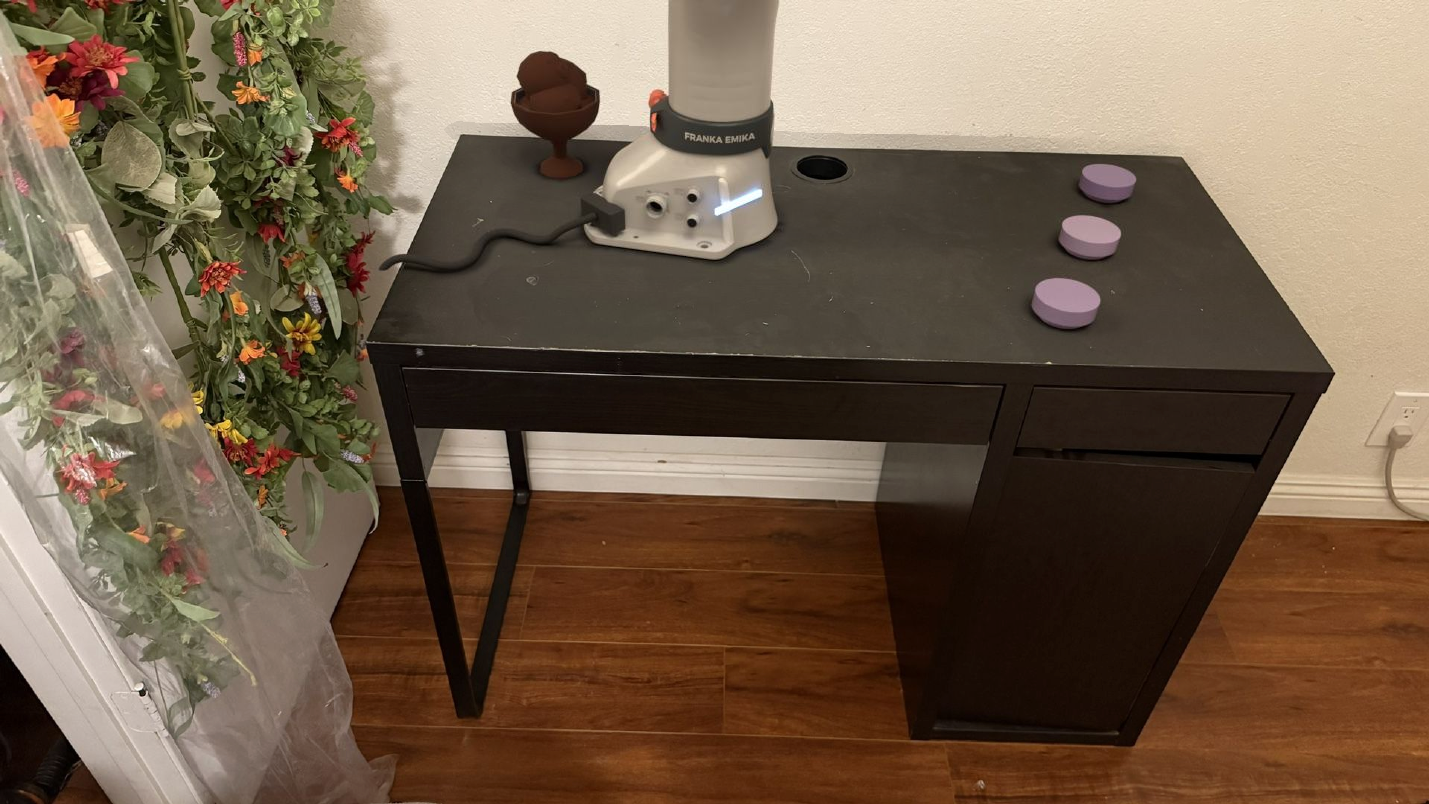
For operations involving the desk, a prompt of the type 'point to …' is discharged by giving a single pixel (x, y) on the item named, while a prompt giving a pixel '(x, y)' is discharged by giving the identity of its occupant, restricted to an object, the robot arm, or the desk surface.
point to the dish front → (1065, 303)
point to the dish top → (1089, 237)
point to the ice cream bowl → (555, 107)
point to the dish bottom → (1107, 183)
